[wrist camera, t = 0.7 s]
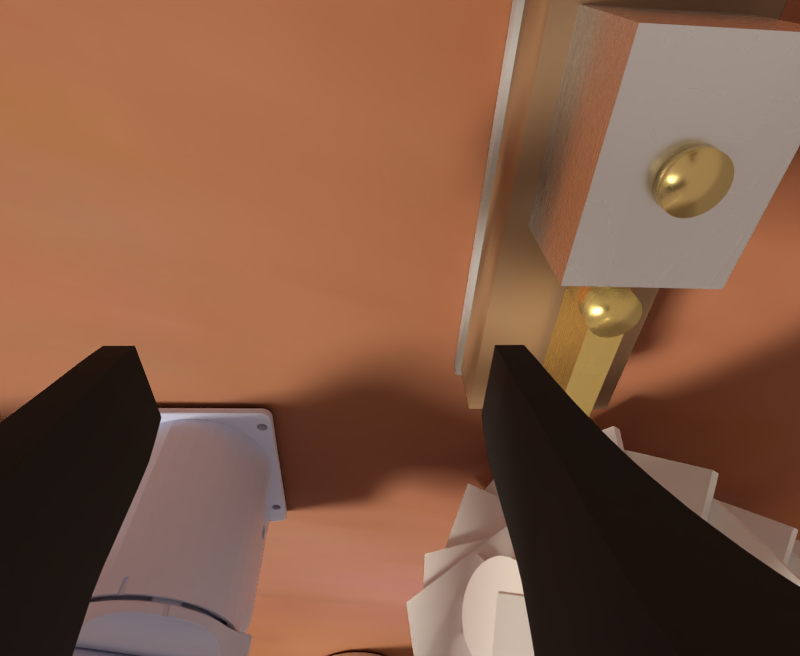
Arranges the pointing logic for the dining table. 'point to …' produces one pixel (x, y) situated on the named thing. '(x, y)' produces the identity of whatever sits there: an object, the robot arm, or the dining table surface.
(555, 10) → the tan flat board
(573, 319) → the lever
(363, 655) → the milk bottle
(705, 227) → the white block with knob
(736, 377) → the dining table surface
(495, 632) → the spiral staircase
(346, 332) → the dining table surface
